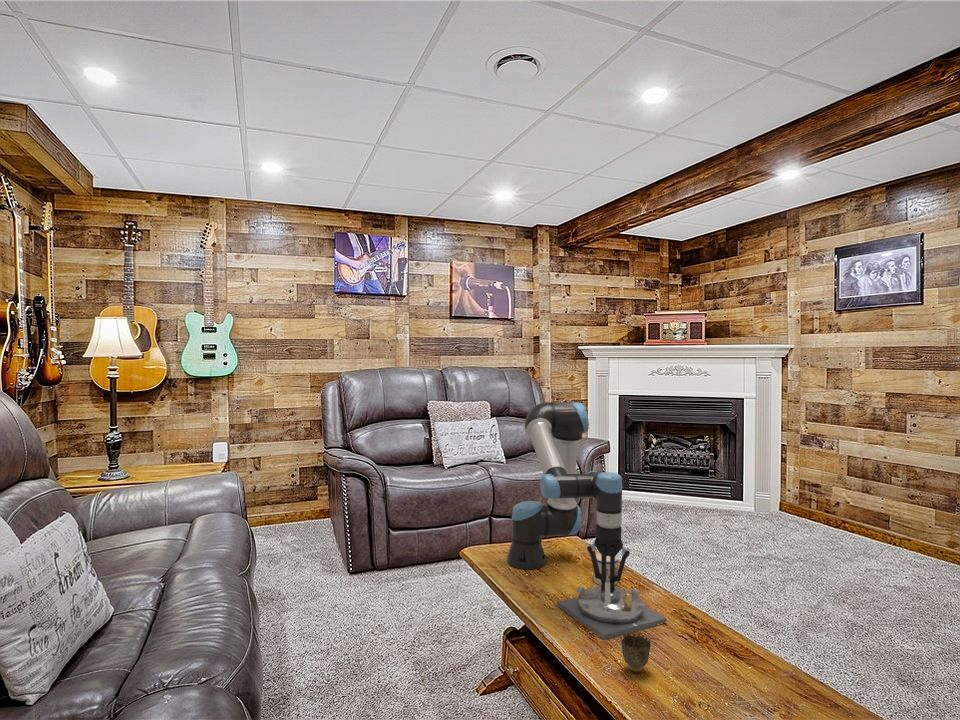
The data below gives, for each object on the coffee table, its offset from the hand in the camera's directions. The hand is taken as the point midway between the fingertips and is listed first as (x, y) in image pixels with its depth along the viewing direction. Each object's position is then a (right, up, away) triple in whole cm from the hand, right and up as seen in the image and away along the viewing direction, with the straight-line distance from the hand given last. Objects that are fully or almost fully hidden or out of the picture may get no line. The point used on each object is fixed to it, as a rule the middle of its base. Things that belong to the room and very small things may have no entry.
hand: (607, 602), depth 171 cm
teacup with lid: (+8, -7, +34) cm, 36 cm away
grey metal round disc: (+2, -5, +8) cm, 10 cm away
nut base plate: (+2, -7, +8) cm, 11 cm away
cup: (+2, -8, -24) cm, 25 cm away
